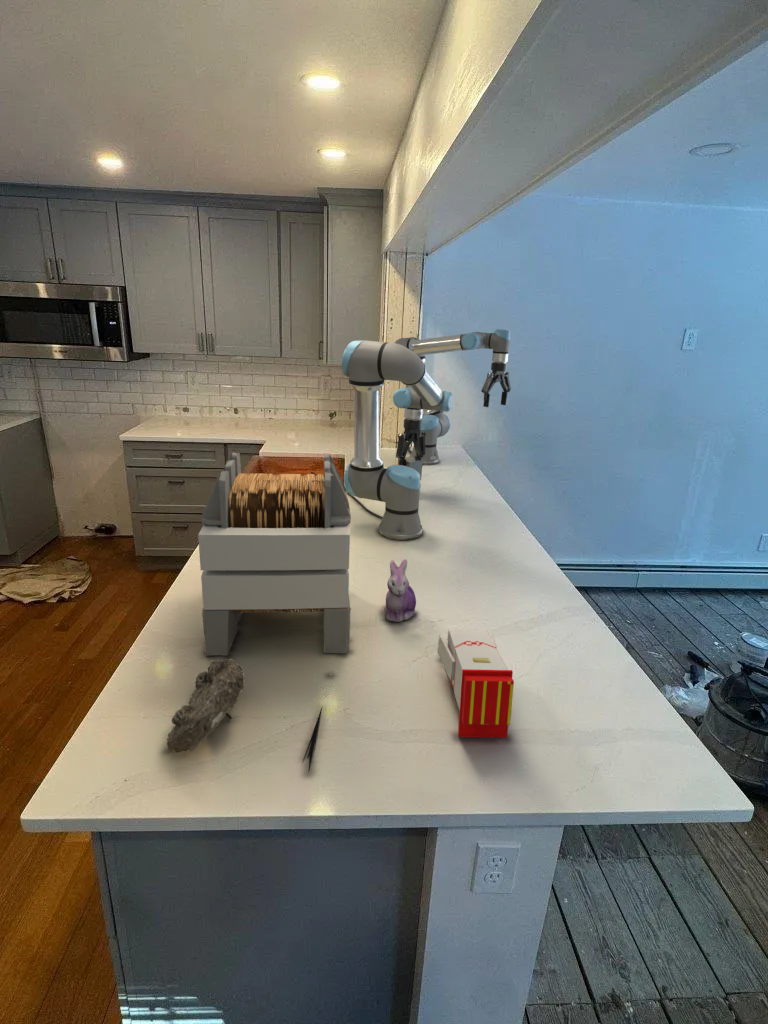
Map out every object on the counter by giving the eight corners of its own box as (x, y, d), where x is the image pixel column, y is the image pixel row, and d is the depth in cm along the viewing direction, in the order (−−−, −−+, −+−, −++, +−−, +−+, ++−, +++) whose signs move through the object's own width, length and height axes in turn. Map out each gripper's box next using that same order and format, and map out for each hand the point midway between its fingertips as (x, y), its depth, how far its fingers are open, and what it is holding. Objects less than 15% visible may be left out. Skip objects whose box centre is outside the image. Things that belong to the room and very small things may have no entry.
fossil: (192, 660, 117) (244, 628, 112) (224, 691, 120) (276, 661, 115) (142, 746, 98) (202, 712, 93) (182, 779, 101) (242, 748, 96)
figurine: (392, 627, 141) (395, 572, 136) (374, 608, 149) (376, 556, 144) (425, 619, 145) (429, 566, 140) (405, 601, 154) (408, 550, 149)
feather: (331, 679, 122) (336, 673, 122) (307, 777, 96) (313, 769, 95) (324, 675, 122) (329, 669, 121) (298, 772, 95) (304, 764, 95)
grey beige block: (421, 480, 239) (422, 460, 237) (408, 482, 235) (409, 462, 232) (409, 476, 245) (410, 456, 242) (396, 478, 240) (398, 458, 238)
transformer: (226, 586, 157) (217, 442, 143) (344, 585, 161) (346, 445, 147) (202, 658, 125) (189, 482, 112) (350, 654, 129) (354, 483, 115)
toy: (488, 613, 130) (523, 677, 101) (484, 667, 133) (517, 744, 104) (435, 612, 130) (455, 676, 101) (432, 666, 133) (451, 743, 103)
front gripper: (400, 422, 223) (397, 478, 230) (437, 418, 235) (432, 472, 242) (388, 419, 228) (385, 474, 235) (424, 415, 240) (420, 468, 248)
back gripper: (509, 361, 288) (504, 402, 295) (476, 362, 272) (472, 406, 280) (521, 362, 283) (516, 405, 290) (488, 363, 267) (484, 408, 274)
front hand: (409, 473), depth 239 cm, fingers closed on grey beige block, 7 cm apart
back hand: (494, 405), depth 285 cm, fingers open, 13 cm apart
